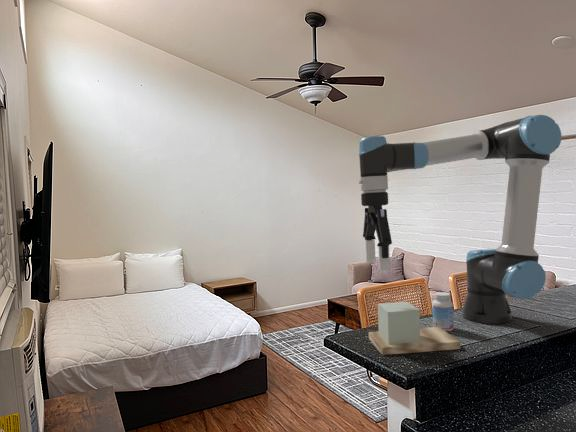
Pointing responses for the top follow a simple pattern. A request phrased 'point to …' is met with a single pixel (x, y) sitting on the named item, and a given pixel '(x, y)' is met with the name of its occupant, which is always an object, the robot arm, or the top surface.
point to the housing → (399, 322)
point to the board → (428, 342)
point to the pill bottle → (443, 311)
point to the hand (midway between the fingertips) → (377, 265)
